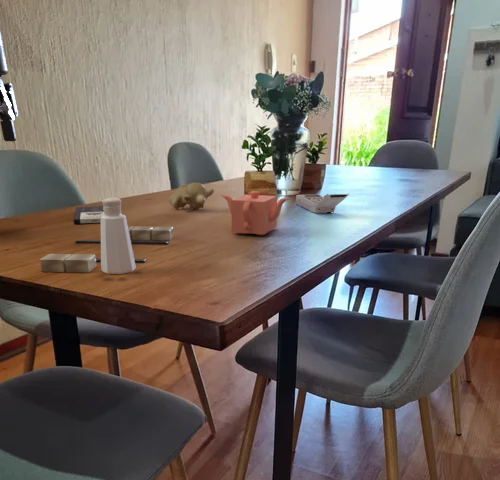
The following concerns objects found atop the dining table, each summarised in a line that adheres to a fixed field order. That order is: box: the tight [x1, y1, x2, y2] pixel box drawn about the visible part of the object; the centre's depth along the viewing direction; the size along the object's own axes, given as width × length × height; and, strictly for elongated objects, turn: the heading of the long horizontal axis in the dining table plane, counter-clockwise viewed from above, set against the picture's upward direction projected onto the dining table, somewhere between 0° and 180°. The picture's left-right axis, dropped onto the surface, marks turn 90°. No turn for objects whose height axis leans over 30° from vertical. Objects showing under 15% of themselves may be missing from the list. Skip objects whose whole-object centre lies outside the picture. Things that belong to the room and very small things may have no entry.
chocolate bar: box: [73, 205, 104, 225], centre depth 124 cm, size 9×1×18 cm
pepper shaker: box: [100, 197, 137, 275], centre depth 79 cm, size 5×5×11 cm
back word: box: [75, 225, 175, 245], centre depth 100 cm, size 18×7×2 cm, turn 86°
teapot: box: [220, 190, 291, 237], centre depth 106 cm, size 12×15×8 cm
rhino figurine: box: [167, 182, 215, 211], centre depth 132 cm, size 8×7×12 cm
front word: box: [39, 253, 147, 273], centre depth 82 cm, size 15×7×2 cm, turn 86°
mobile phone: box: [295, 193, 350, 215], centre depth 131 cm, size 6×6×25 cm
